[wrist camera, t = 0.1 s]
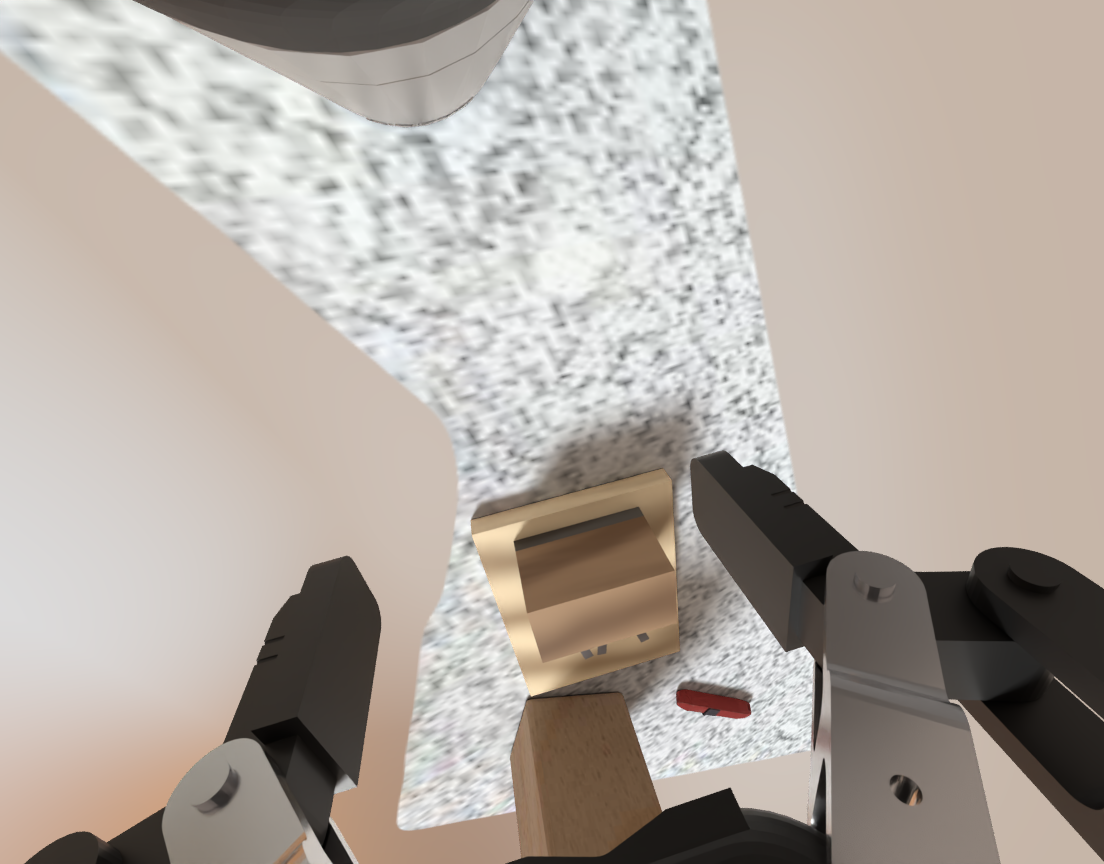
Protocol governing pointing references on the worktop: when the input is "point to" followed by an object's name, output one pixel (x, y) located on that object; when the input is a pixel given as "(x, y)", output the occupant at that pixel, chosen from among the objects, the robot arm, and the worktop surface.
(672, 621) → the block
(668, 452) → the worktop surface
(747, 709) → the utility knife
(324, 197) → the worktop surface
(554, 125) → the worktop surface
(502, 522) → the pine board
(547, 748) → the wooden block
